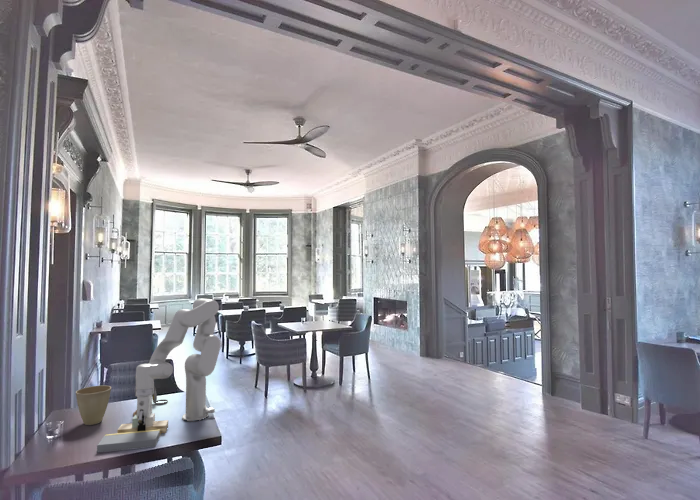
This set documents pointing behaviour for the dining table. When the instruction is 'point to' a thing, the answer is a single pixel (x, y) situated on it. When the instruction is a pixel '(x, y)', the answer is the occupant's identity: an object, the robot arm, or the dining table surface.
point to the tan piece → (156, 426)
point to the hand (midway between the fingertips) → (143, 430)
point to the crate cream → (150, 420)
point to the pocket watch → (156, 398)
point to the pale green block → (135, 421)
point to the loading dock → (128, 440)
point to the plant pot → (93, 403)
